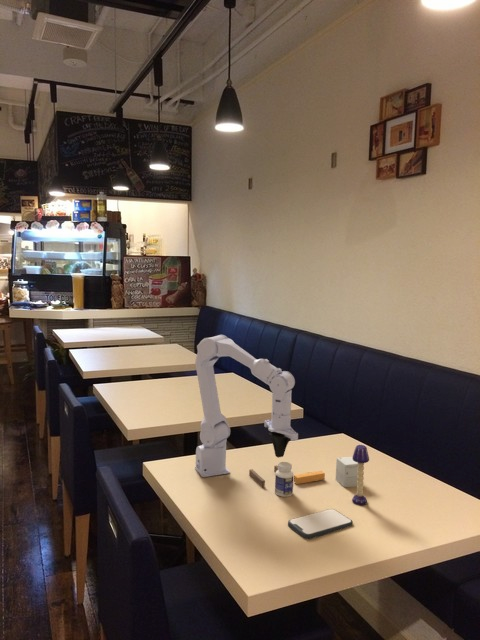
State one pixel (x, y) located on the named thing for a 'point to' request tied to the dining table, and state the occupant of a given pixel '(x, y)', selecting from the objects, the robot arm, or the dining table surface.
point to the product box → (346, 471)
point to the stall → (257, 477)
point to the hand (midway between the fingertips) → (279, 456)
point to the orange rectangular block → (309, 477)
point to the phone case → (319, 523)
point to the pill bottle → (284, 479)
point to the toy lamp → (360, 473)
